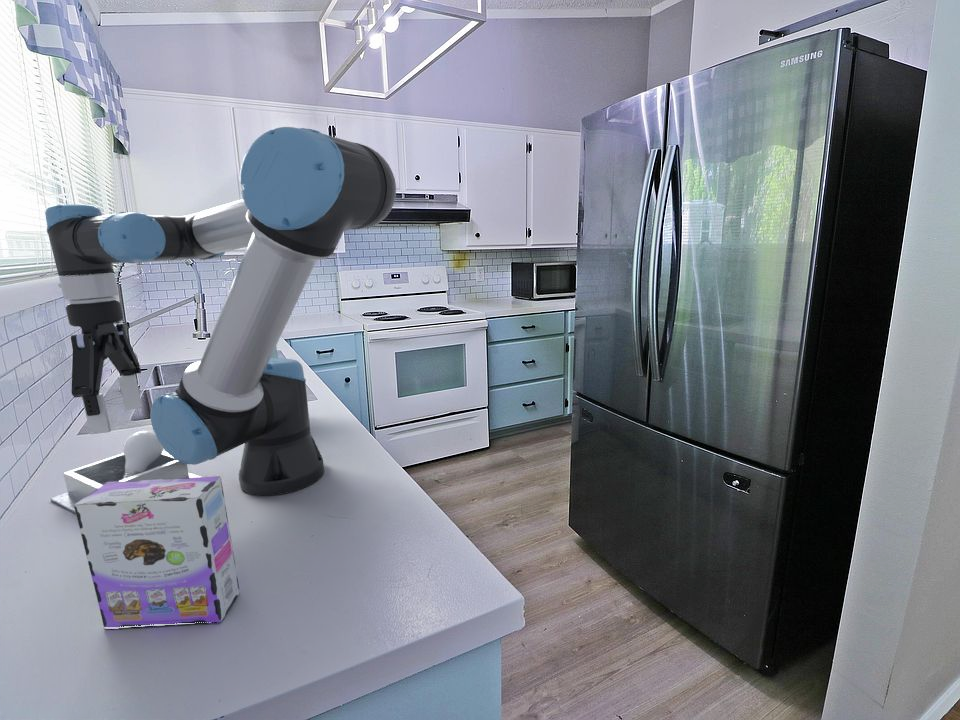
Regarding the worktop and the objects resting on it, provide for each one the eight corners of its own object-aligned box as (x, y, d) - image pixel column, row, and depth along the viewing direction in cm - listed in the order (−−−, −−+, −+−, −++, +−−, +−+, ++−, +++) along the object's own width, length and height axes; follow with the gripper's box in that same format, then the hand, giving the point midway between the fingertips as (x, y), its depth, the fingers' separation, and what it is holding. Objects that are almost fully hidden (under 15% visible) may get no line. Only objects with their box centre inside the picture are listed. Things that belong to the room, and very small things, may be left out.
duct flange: (206, 480, 97) (202, 456, 96) (99, 526, 82) (93, 498, 81) (155, 462, 106) (151, 440, 105) (51, 500, 91) (44, 475, 90)
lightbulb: (150, 489, 92) (172, 432, 97) (109, 480, 88) (134, 422, 94) (143, 495, 96) (164, 440, 101) (104, 487, 92) (128, 431, 98)
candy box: (242, 592, 66) (223, 473, 62) (221, 625, 60) (199, 497, 56) (132, 597, 65) (107, 478, 61) (100, 631, 59) (70, 503, 56)
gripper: (101, 296, 97) (124, 402, 102) (21, 310, 74) (56, 448, 78) (145, 293, 99) (165, 398, 104) (81, 306, 75) (111, 441, 80)
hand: (118, 420), depth 91 cm, fingers open, 13 cm apart
